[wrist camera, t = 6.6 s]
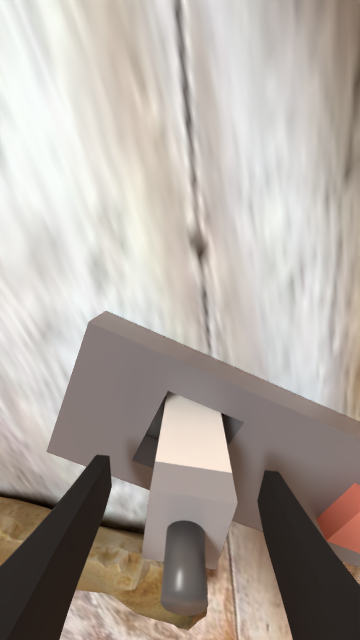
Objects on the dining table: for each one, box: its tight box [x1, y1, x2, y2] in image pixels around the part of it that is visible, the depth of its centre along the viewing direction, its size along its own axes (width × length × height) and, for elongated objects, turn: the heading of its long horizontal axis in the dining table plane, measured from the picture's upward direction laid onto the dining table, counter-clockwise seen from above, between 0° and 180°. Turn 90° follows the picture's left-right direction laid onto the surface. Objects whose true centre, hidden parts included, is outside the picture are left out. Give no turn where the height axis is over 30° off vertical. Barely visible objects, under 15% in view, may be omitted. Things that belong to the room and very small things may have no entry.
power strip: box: [47, 311, 360, 567], centre depth 12 cm, size 22×9×3 cm, turn 66°
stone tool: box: [0, 497, 208, 630], centre depth 16 cm, size 12×4×25 cm
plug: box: [141, 391, 238, 616], centre depth 10 cm, size 3×4×8 cm
